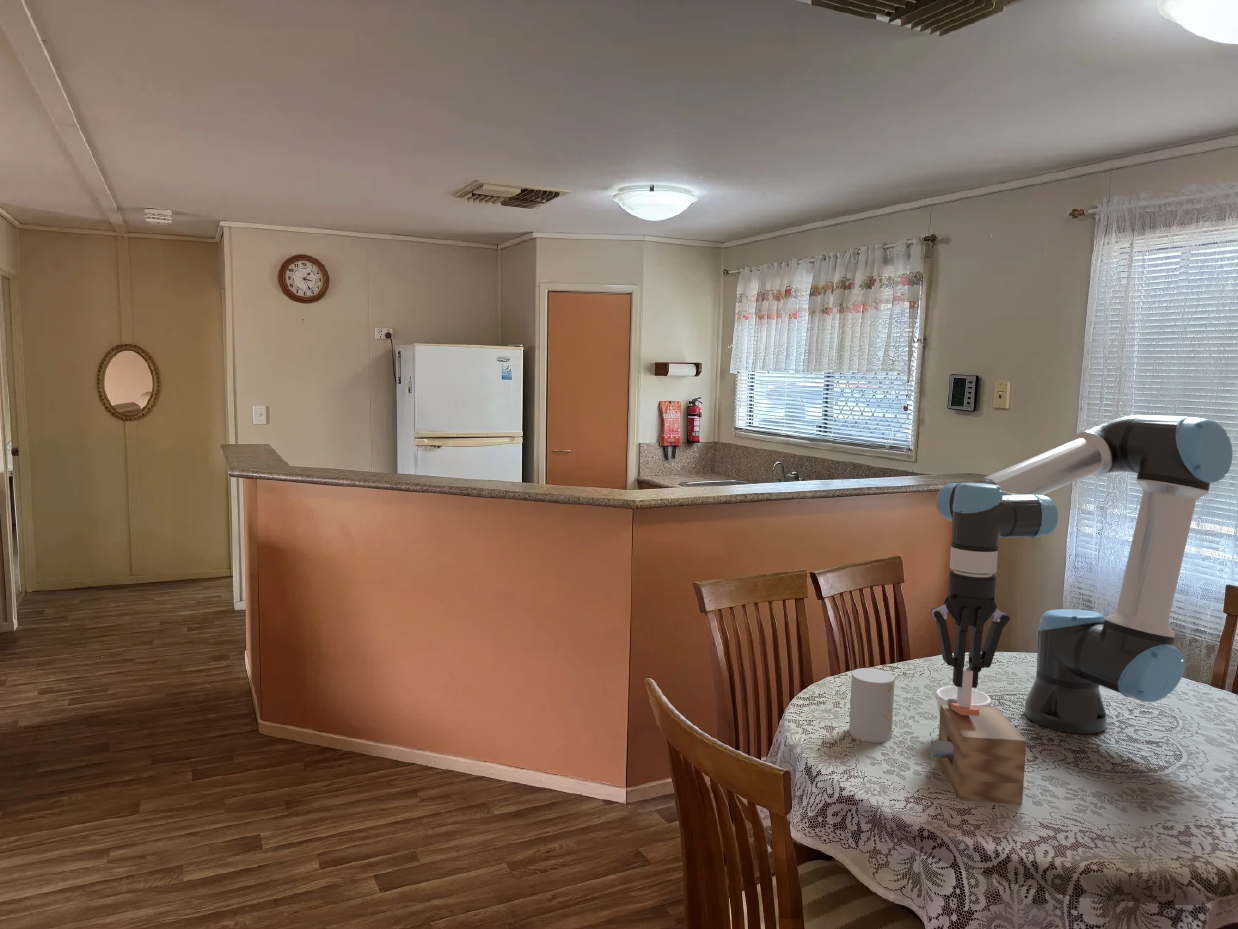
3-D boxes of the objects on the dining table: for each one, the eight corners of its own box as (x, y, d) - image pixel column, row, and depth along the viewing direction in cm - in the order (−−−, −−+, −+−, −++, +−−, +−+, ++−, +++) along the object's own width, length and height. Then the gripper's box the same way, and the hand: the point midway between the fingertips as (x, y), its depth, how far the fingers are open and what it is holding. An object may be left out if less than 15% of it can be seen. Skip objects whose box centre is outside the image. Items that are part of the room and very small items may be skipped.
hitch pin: (1012, 761, 148) (1014, 733, 147) (1023, 775, 143) (1025, 746, 142) (928, 756, 149) (929, 728, 149) (935, 770, 144) (937, 741, 144)
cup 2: (963, 756, 156) (966, 708, 155) (922, 735, 165) (924, 690, 164) (999, 746, 161) (1002, 700, 160) (957, 726, 169) (960, 682, 168)
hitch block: (993, 765, 153) (997, 707, 151) (1022, 804, 139) (1026, 740, 138) (937, 762, 154) (940, 704, 152) (959, 799, 140) (963, 737, 139)
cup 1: (894, 744, 161) (897, 684, 160) (850, 740, 162) (853, 680, 161) (889, 727, 169) (892, 670, 167) (847, 723, 170) (850, 666, 169)
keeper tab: (965, 708, 151) (965, 699, 151) (979, 716, 143) (979, 706, 143) (947, 707, 151) (947, 698, 151) (960, 714, 143) (960, 705, 144)
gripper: (1004, 570, 147) (994, 699, 149) (927, 566, 149) (919, 694, 151) (1019, 579, 140) (1010, 715, 142) (939, 574, 141) (930, 710, 143)
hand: (963, 704), depth 146 cm, fingers closed
